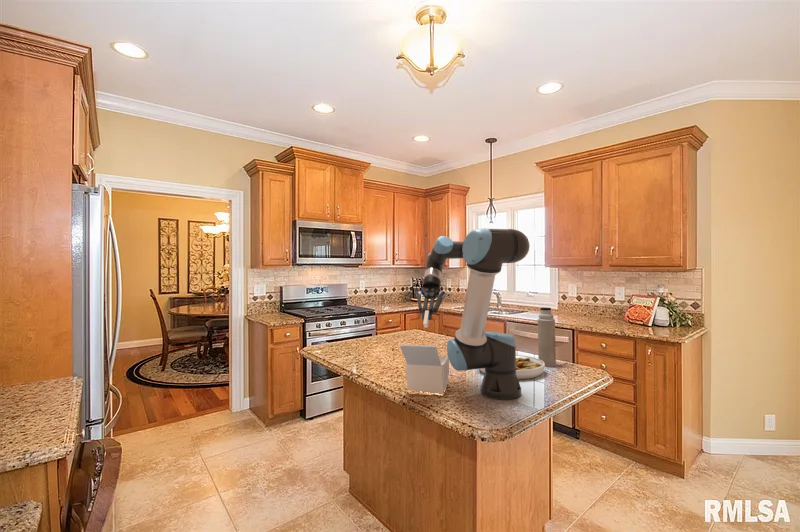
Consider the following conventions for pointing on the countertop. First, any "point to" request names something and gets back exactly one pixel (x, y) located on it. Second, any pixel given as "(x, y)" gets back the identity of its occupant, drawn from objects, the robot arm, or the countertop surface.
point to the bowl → (527, 367)
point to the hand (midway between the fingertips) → (425, 325)
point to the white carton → (428, 376)
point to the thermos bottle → (546, 338)
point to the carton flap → (421, 355)
